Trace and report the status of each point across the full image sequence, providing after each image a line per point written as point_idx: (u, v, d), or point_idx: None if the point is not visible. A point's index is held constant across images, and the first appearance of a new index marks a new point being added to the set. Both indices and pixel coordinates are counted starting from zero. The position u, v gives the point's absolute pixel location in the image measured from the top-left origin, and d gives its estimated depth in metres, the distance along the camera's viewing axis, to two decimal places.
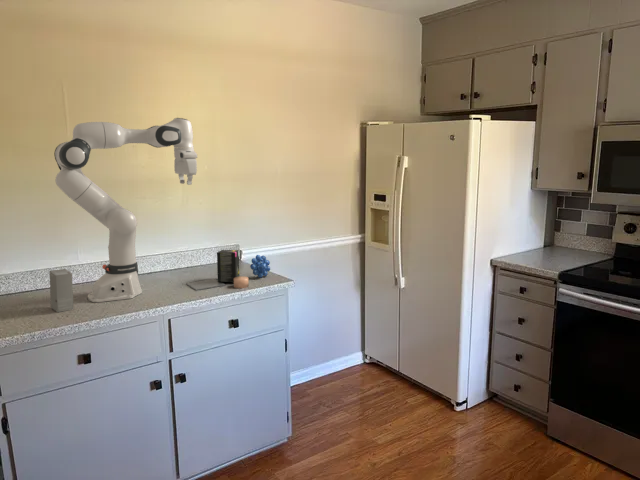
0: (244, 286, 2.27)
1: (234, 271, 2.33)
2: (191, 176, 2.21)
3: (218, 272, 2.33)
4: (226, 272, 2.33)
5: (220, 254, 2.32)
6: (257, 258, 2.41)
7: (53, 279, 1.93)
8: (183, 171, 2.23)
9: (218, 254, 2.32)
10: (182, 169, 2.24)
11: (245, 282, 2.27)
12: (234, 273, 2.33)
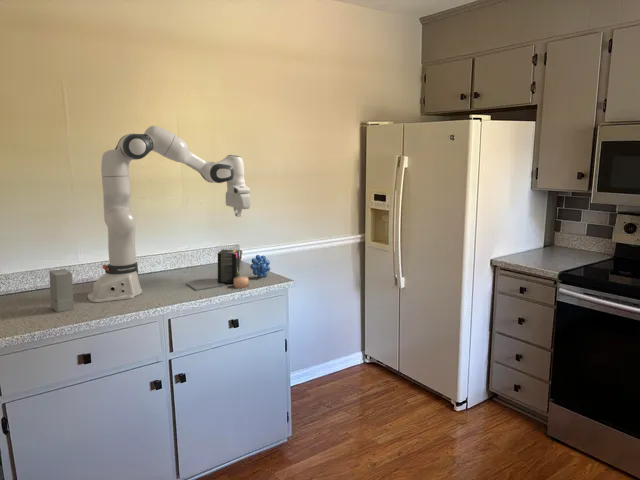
0: (244, 286, 2.27)
1: (234, 272, 2.32)
2: (240, 209, 2.37)
3: (218, 273, 2.33)
4: (226, 273, 2.33)
5: (221, 255, 2.31)
6: (257, 258, 2.41)
7: (53, 279, 1.93)
8: (236, 205, 2.35)
9: (219, 255, 2.31)
10: (235, 203, 2.36)
11: (245, 282, 2.27)
12: (234, 274, 2.33)
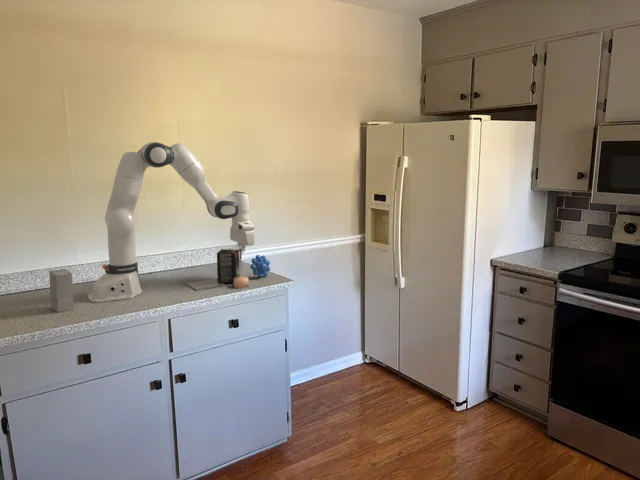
0: (244, 286, 2.27)
1: (234, 272, 2.32)
2: (244, 244, 2.38)
3: (218, 273, 2.33)
4: (226, 273, 2.32)
5: (220, 255, 2.31)
6: (257, 258, 2.41)
7: (53, 279, 1.93)
8: (240, 241, 2.36)
9: (218, 255, 2.31)
10: (239, 238, 2.37)
11: (245, 282, 2.27)
12: (234, 274, 2.32)
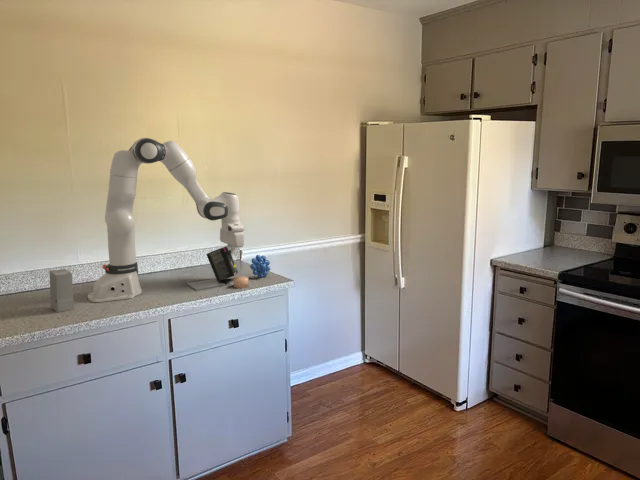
0: (244, 286, 2.27)
1: (229, 266, 2.32)
2: (234, 246, 2.35)
3: (214, 272, 2.33)
4: (222, 269, 2.33)
5: (210, 254, 2.32)
6: (257, 258, 2.41)
7: (53, 279, 1.93)
8: (230, 242, 2.33)
9: (208, 255, 2.32)
10: (229, 240, 2.34)
11: (245, 282, 2.27)
12: (230, 267, 2.33)
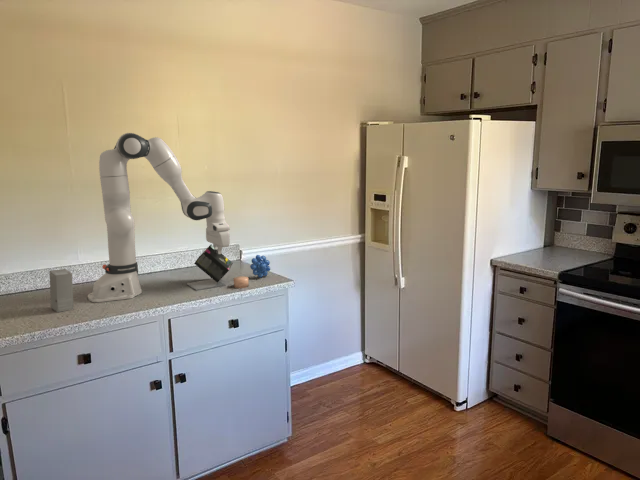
0: (244, 286, 2.27)
1: (219, 264, 2.30)
2: None
3: (210, 275, 2.32)
4: (215, 270, 2.31)
5: (197, 262, 2.30)
6: (257, 258, 2.41)
7: (53, 279, 1.93)
8: (216, 242, 2.29)
9: (196, 263, 2.30)
10: (214, 240, 2.30)
11: (245, 282, 2.27)
12: (221, 265, 2.31)
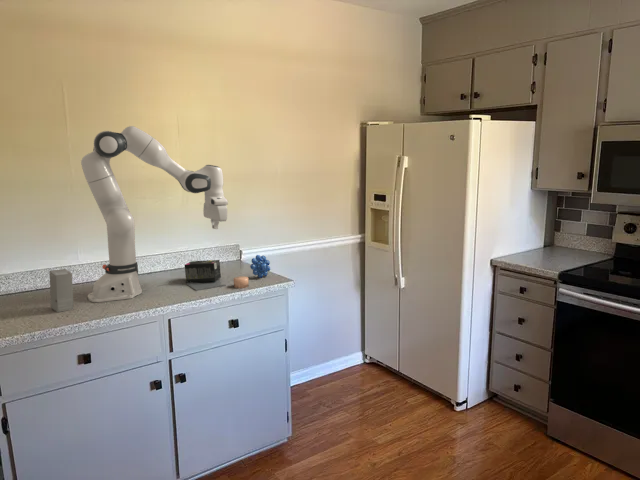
0: (244, 286, 2.27)
1: (203, 264, 2.33)
2: (217, 221, 2.28)
3: (205, 280, 2.34)
4: (205, 272, 2.33)
5: (187, 279, 2.34)
6: (257, 258, 2.41)
7: (53, 279, 1.93)
8: (213, 217, 2.26)
9: (187, 281, 2.34)
10: (212, 214, 2.27)
11: (245, 282, 2.27)
12: (205, 264, 2.32)
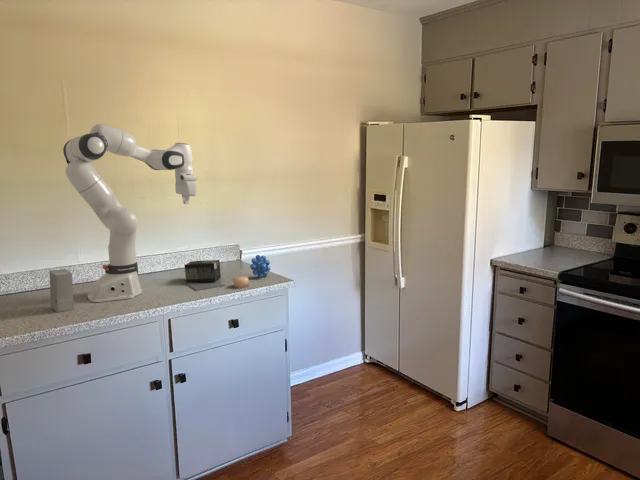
0: (244, 286, 2.27)
1: (203, 264, 2.33)
2: (188, 196, 2.40)
3: (205, 280, 2.34)
4: (204, 272, 2.33)
5: (187, 279, 2.34)
6: (257, 258, 2.41)
7: (53, 279, 1.93)
8: (183, 192, 2.38)
9: (187, 281, 2.34)
10: (182, 190, 2.39)
11: (245, 282, 2.27)
12: (205, 264, 2.32)
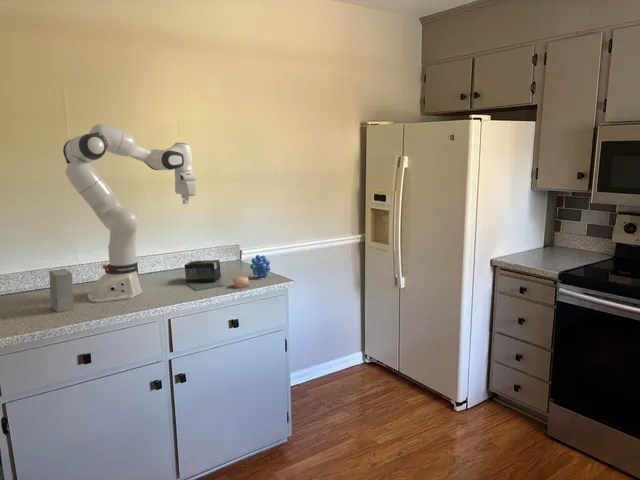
0: (244, 286, 2.27)
1: (203, 264, 2.33)
2: (187, 196, 2.40)
3: (205, 280, 2.34)
4: (204, 272, 2.33)
5: (187, 279, 2.34)
6: (257, 258, 2.41)
7: (53, 279, 1.93)
8: (183, 192, 2.38)
9: (187, 281, 2.34)
10: (182, 190, 2.40)
11: (245, 282, 2.27)
12: (205, 264, 2.32)
